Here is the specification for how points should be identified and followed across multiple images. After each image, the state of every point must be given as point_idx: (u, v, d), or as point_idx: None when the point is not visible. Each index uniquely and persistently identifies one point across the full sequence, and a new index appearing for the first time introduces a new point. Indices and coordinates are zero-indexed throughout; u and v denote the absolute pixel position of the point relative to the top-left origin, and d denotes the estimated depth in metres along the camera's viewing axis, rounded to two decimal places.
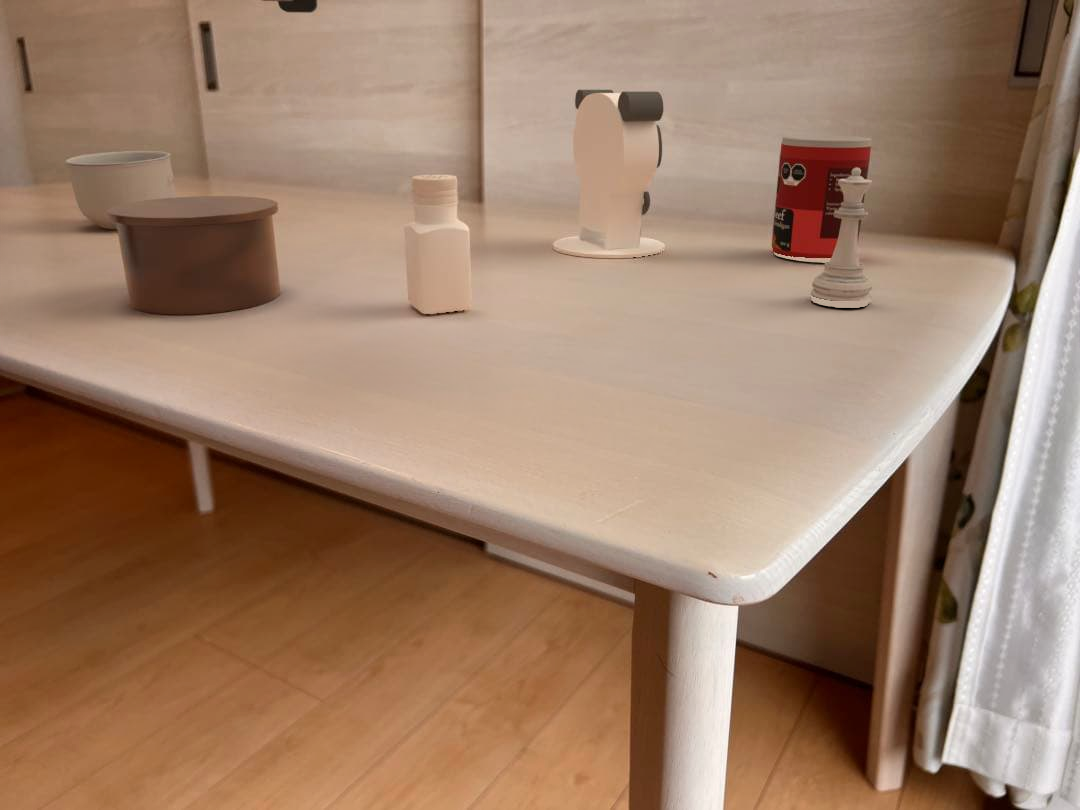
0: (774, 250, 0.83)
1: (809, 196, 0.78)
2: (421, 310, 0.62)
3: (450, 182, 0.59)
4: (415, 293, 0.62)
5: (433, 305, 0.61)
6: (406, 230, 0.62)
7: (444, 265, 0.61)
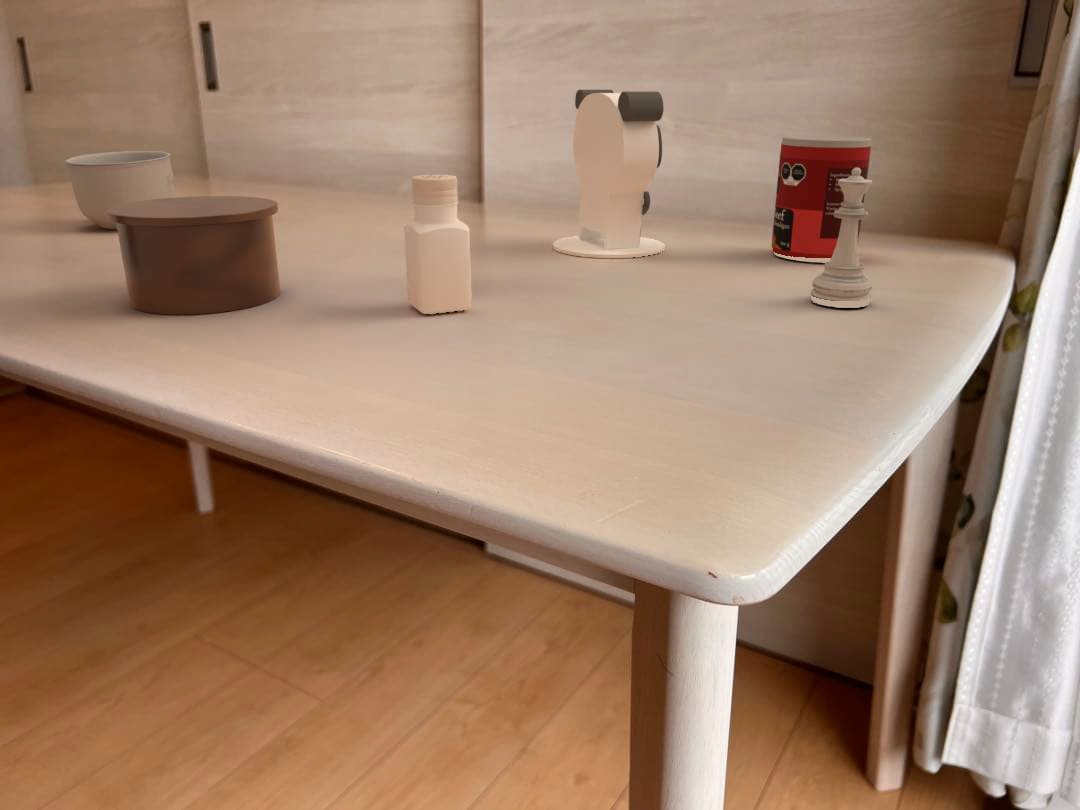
0: (774, 250, 0.83)
1: (809, 196, 0.78)
2: (421, 310, 0.62)
3: (450, 182, 0.59)
4: (415, 293, 0.62)
5: (433, 305, 0.61)
6: (406, 230, 0.62)
7: (444, 265, 0.61)
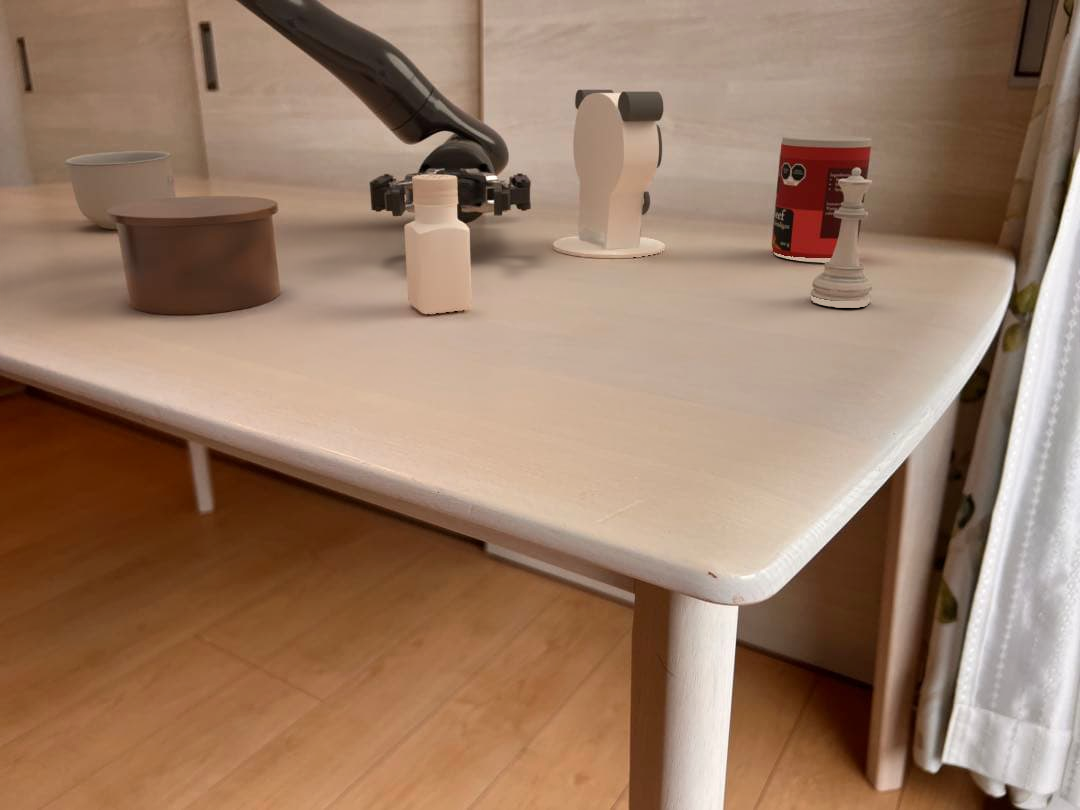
0: (774, 250, 0.83)
1: (808, 196, 0.78)
2: (421, 310, 0.62)
3: (450, 182, 0.59)
4: (415, 293, 0.62)
5: (433, 305, 0.61)
6: (406, 230, 0.62)
7: (444, 265, 0.61)
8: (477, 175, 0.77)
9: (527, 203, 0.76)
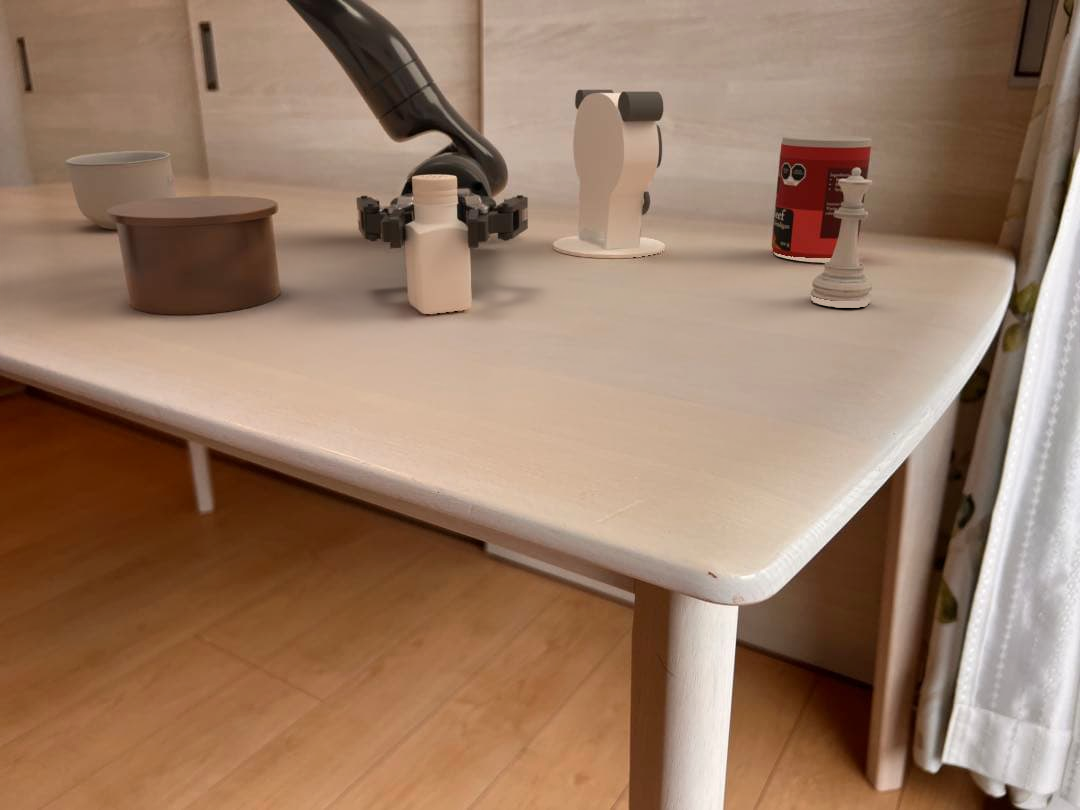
0: (774, 250, 0.83)
1: (809, 196, 0.78)
2: (421, 310, 0.62)
3: (450, 182, 0.59)
4: (415, 293, 0.62)
5: (433, 305, 0.61)
6: (406, 230, 0.62)
7: (444, 265, 0.61)
8: (460, 197, 0.65)
9: (507, 232, 0.64)
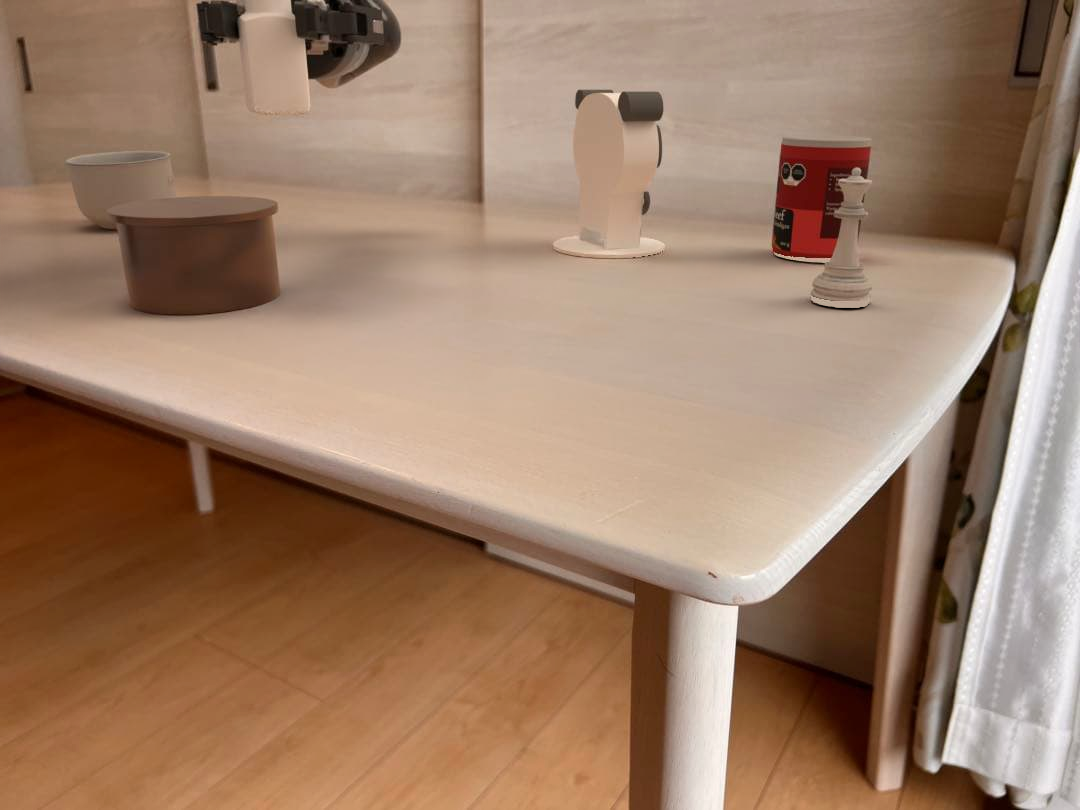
0: (774, 250, 0.83)
1: (808, 196, 0.78)
2: (253, 109, 0.58)
3: None
4: (248, 92, 0.59)
5: (265, 102, 0.58)
6: (238, 25, 0.58)
7: (275, 58, 0.57)
8: None
9: (349, 33, 0.60)
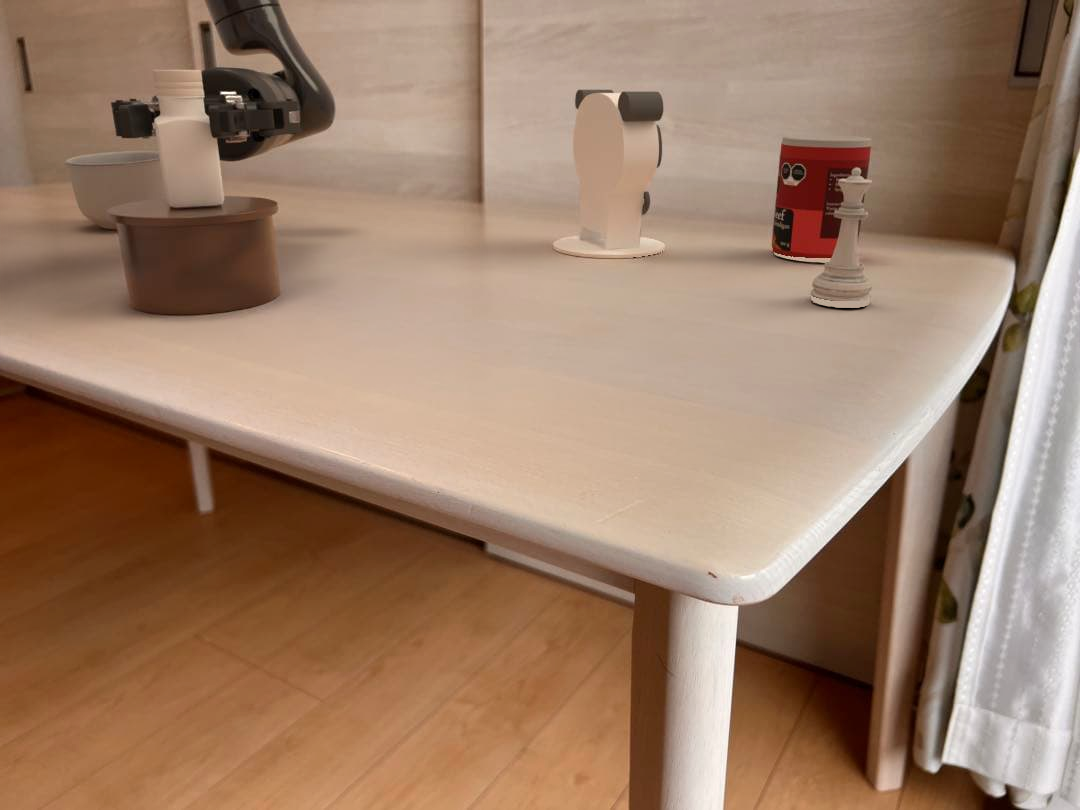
0: (774, 250, 0.83)
1: (809, 196, 0.78)
2: (169, 203, 0.62)
3: (189, 73, 0.60)
4: (164, 187, 0.63)
5: (179, 198, 0.62)
6: None
7: (188, 158, 0.61)
8: (223, 96, 0.66)
9: (267, 128, 0.65)
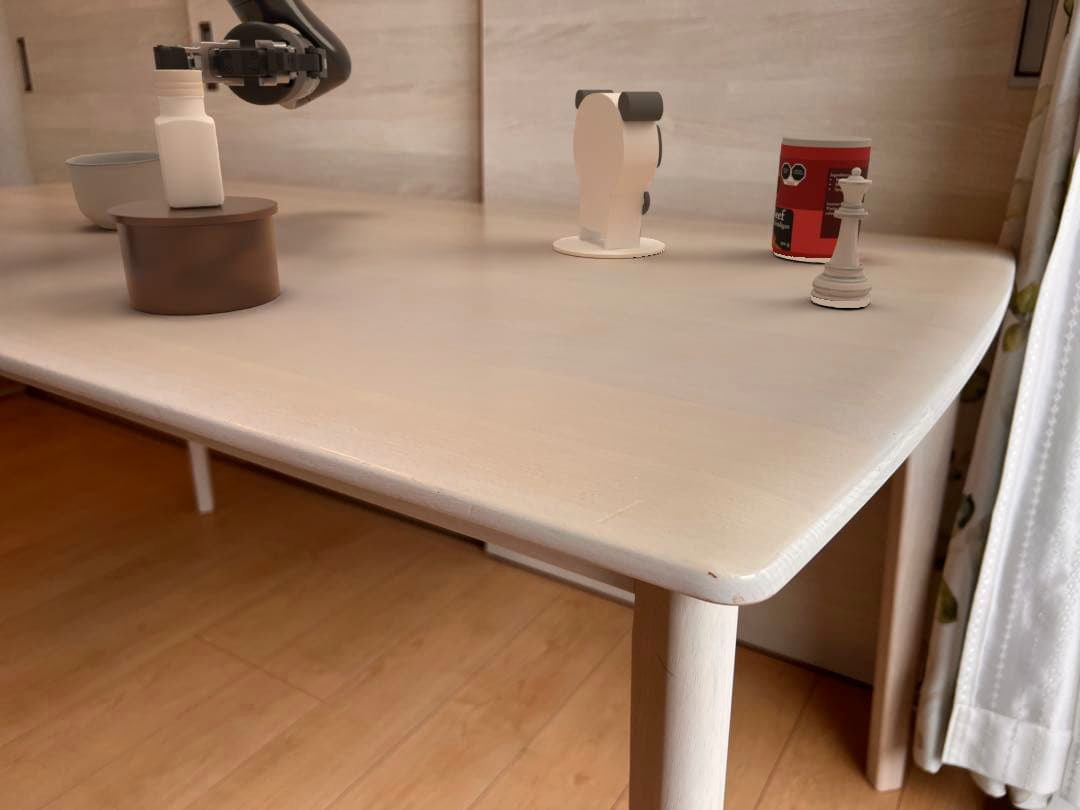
0: (774, 250, 0.83)
1: (809, 196, 0.78)
2: (169, 203, 0.62)
3: (189, 73, 0.60)
4: (164, 187, 0.63)
5: (179, 198, 0.62)
6: None
7: (188, 158, 0.61)
8: (267, 43, 0.76)
9: (315, 70, 0.75)
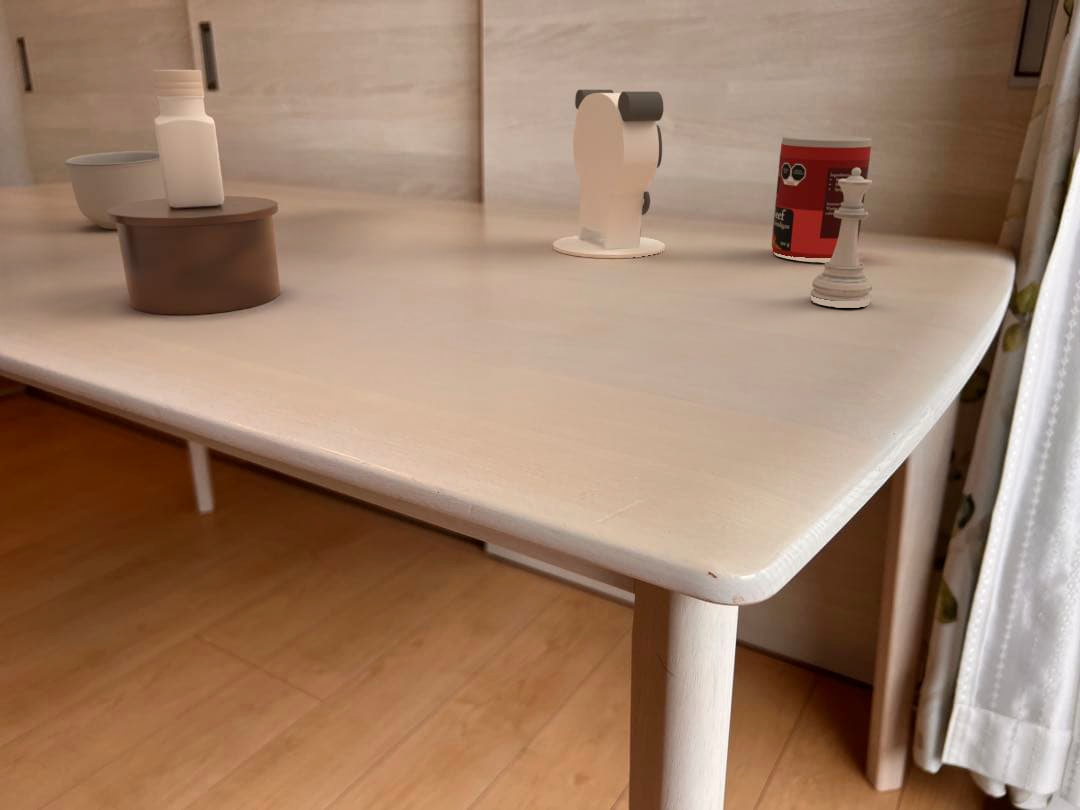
0: (774, 250, 0.83)
1: (809, 196, 0.78)
2: (169, 203, 0.62)
3: (189, 73, 0.60)
4: (164, 187, 0.63)
5: (179, 198, 0.62)
6: None
7: (188, 158, 0.61)
8: None
9: None
